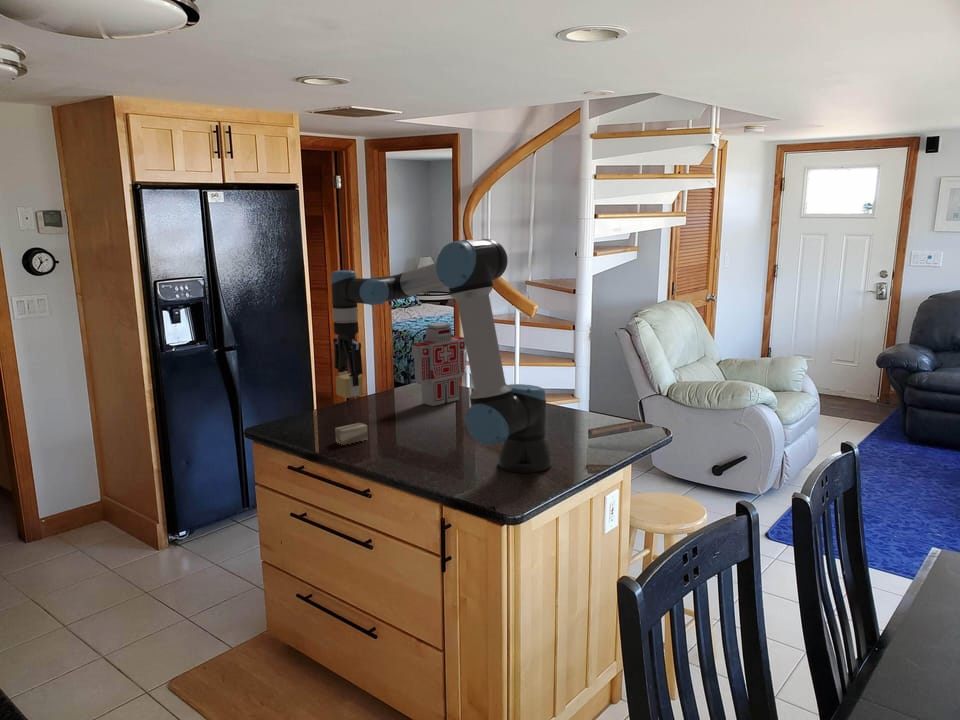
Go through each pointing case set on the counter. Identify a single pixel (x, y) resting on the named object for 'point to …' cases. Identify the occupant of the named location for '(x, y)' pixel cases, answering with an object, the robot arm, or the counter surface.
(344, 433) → the birch plinth
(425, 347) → the toy
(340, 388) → the ochre cube
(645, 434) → the counter surface
